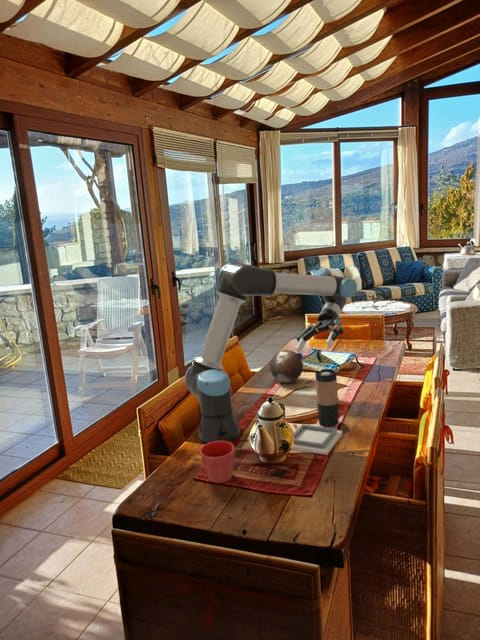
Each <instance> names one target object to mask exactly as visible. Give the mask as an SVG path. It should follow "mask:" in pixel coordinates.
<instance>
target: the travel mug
mask: <svg viewBox="0 0 480 640" xmlns="http://www.w3.org/2000/svg"><path fill="white" fill-rule="evenodd" d="M315 389H316V390H315V391H316V404H317V416H318V424H319V426H320V427H326V428H334V427H336V426H338V425H339V393H338V380H337V372H336V370H335V369H331V368H324V369H321V370H320V371H315Z"/></svg>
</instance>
